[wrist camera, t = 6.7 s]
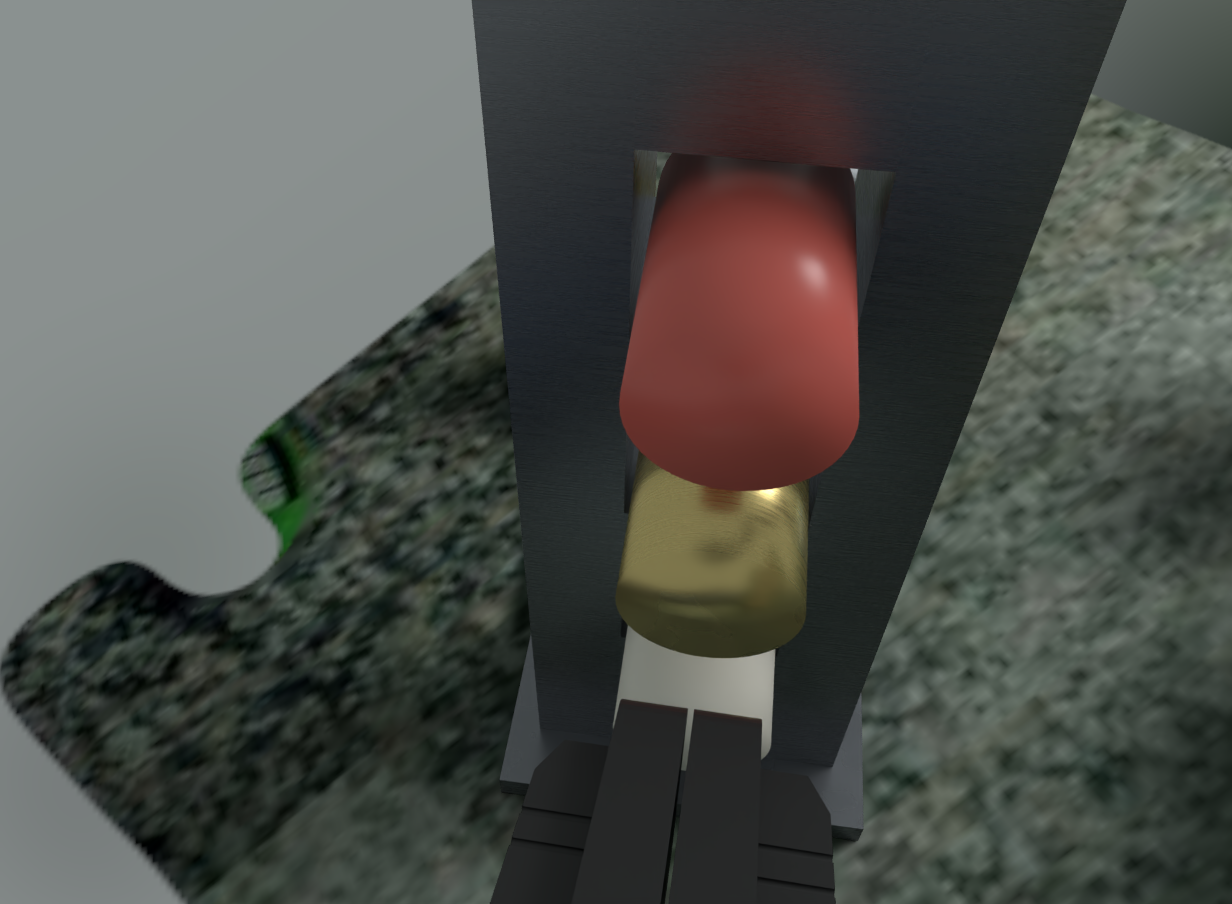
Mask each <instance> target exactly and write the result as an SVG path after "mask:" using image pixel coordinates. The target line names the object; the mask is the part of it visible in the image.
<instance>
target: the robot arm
mask: <svg viewBox="0 0 1232 904" xmlns="http://www.w3.org/2000/svg"><path fill="white" fill-rule="evenodd" d="M687 715H688V708H682V707H675V706H668V705H662V704H655V703H648V702H641V701H634V700H627V699H621V700H620V703H619V707H618V711H617V716H616V720H615V724H614V728H613V732H612V736H611V740H610V745H609V746H604V745H598V744H591V743H585V742H578V741H571V740H564V741H563V742H562V743H561V744H560V745H559V746H558V747H557V748H556V749H555V750H554V751H552V752H551V753H550V754H549V755H548V756H547V757H546V758H545V759H544V760H543V761H542V762H541V763H540V764H539V765H538V766H537V767H536V768H535V769H534V772H533V775H532V778H531V781H530V784H529V787H528V790H527V793H526V796H525V799H524V802H523V805H522V812H521V814H519V817H518V820H517V823H516V826H515V829H514V832H513V835H512V841H511V845H509V847H508V850H507V853H506V856H505V859H504V862H503V865H502V869H501V872H500V875H499V878H498V881H497V884H496V887H495V890H494V893H493V896H492V899H491V902H490V904H665V898H666V891H667V883H668V876H669V868H670V860H671V852H672V844H673V836H674V828H675V819H676V811H677V802H678V793H679V785H680V776H681V767H682V759H683V750H684V741H685V733H686V724H687ZM761 746H762V719H759V718H753V717H746V716H739V715H732V714H725V713H718V712H711V711H705V710H698V709H694V714H693V722H692V729H691V737H690V744H689V752H688V760H687V767H686V775H685V783H684V790H683V798H682V805H681V813H680V821H679V828H678V836H677V844H676V851H675V859H674V866H673V874H672V882H671V889H670V897H669V904H836V901H835V898H834V891H835V883H834V865H833V863H832V858H833V848H832V830H831V814H830V812H829V810H828V809H827V807H826V805H825V804H824V802H823V800H822V799H821V797H820V795H819V794H818V792H817V790H816V789H815V787H814V785H813V784H812V782H811V780H810V778H809V777H808V776H805V775H798V774H792V773H785V772H779V771H772V770H765V769H761Z"/></svg>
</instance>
